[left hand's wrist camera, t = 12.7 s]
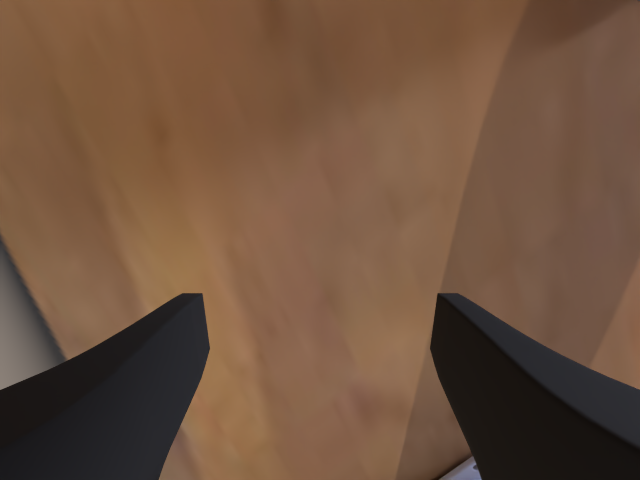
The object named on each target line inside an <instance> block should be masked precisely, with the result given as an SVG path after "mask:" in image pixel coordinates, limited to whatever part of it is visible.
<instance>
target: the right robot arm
mask: <svg viewBox="0 0 640 480" xmlns="http://www.w3.org/2000/svg"><path fill="white" fill-rule="evenodd" d="M439 480H481V477H480V474H479V471H478V468H477V465H476V462H475V460H474V457H473V456H472V457H470V458H469V459H467V460H466V461H465V462H463V463H462V464H460V465H459V466H457V467H456V468H455V469H453V470H452V471H450V472H449V473H447V474H446V475H445V476H443V477H442V478H440V479H439Z"/></svg>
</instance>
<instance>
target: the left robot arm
mask: <svg viewBox="0 0 640 480" xmlns="http://www.w3.org/2000/svg"><path fill="white" fill-rule="evenodd" d="M638 1H640V0H638ZM209 350H210V346H209V338H208V331H207V324H206V316H205V309H204V302H203V295H202V293H182V294H180V295H178V296H177V297H175V298H173V299H171V300H170V301H168V302H167V303H165V304H163V305H162V306H160V307H159V308H157V309H156V310H154V311H153V312H151V313H149V314H148V315H146V316H145V317H143V318H142V319H140V320H139V321H137V322H135V323H134V324H132V325H131V326H129V327H127V328H126V329H124V330H122V331H121V332H119V333H117V334H115V335H114V336H112V337H110V338H109V339H107V340H105V341H104V342H102V343H100V344H98V345H97V346H95V347H93V348H91V349H89V350H88V351H86V352H84V353H82V354H80V355H78V356H76V357H74V358H72V359H70V360H68V361H66V362H64V363H62V364H60V365H58V366H56V367H53V368H51V369H49V370H47V371H44V372H42V373H40V374H37V375H35V376H33V377H30V378H28V379H26V380H23V381H21V382H18V383H16V384H14V385H11V386H9V387H7V388H4V389H2V390H0V480H159V477H160V474H161V471H162V468H163V465H164V462H165V460H166V457H167V455H168V452H169V450H170V447H171V445H172V443H173V441H174V438H175V436H176V434H177V432H178V430H179V427H180V425H181V423H182V421H183V418H184V416H185V414H186V412H187V409H188V407H189V405H190V403H191V401H192V398H193V396H194V394H195V391H196V389H197V387H198V385H199V382H200V380H201V377H202V374H203V371H204V368H205V364H206V361H207V357H208V353H209ZM430 350H431V353H432V357H433V361H434V364H435V368H436V371H437V374H438V377H439V380H440V382H441V385H442V387H443V389H444V391H445V394H446V396H447V398H448V401H449V403H450V405H451V407H452V410H453V412H454V414H455V416H456V418H457V421H458V423H459V425H460V427H461V430H462V432H463V434H464V436H465V438H466V441H467V443H468V445H469V447H470V450H471V452H472V455H473V457H474V460H475V462H476V465H477V468H478V471H479V474H480V477H481V480H640V390H639V389H636V388H634V387H631V386H629V385H627V384H624V383H622V382H619V381H617V380H614V379H612V378H609V377H607V376H605V375H603V374H600V373H598V372H596V371H594V370H591V369H589V368H587V367H585V366H583V365H581V364H579V363H577V362H575V361H573V360H571V359H569V358H566V357H564V356H562V355H560V354H559V353H557V352H555V351H553V350H551V349H549V348H547V347H546V346H544V345H542V344H540V343H538V342H537V341H535V340H533V339H531V338H530V337H528V336H526V335H524V334H523V333H521V332H519V331H518V330H516V329H514V328H513V327H511V326H510V325H508V324H506V323H505V322H503V321H502V320H500V319H499V318H497V317H495V316H494V315H492V314H491V313H489V312H488V311H486V310H485V309H483V308H481V307H480V306H478V305H477V304H475V303H474V302H472V301H470V300H469V299H467V298H465V297H464V296H462V295H460V294H458V293H438V295H437V302H436V309H435V316H434V324H433V331H432V338H431V346H430Z"/></svg>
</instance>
